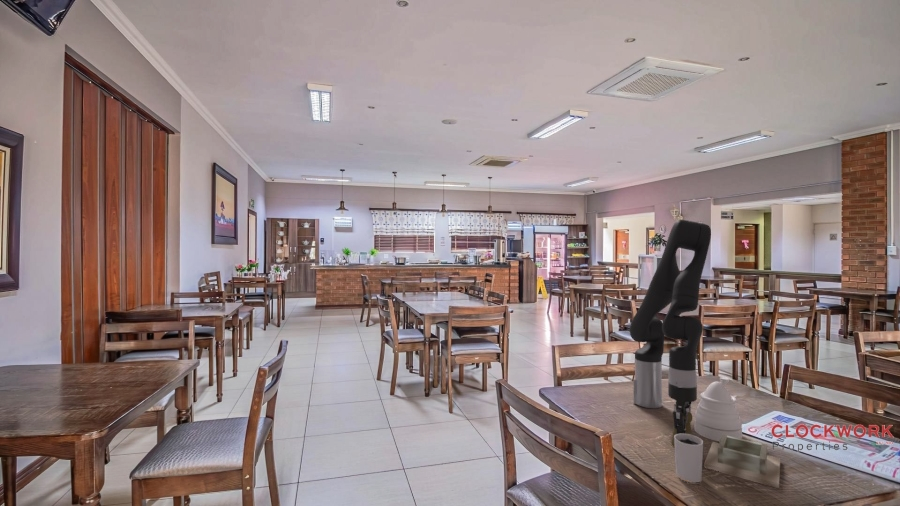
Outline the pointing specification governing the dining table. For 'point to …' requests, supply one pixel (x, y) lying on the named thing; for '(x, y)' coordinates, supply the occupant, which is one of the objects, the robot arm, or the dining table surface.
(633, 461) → the dining table surface
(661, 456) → the dining table surface
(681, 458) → the white cup
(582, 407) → the dining table surface
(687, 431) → the brown rounded tapered piece
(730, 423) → the honey pot
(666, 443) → the dining table surface
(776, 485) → the stand
